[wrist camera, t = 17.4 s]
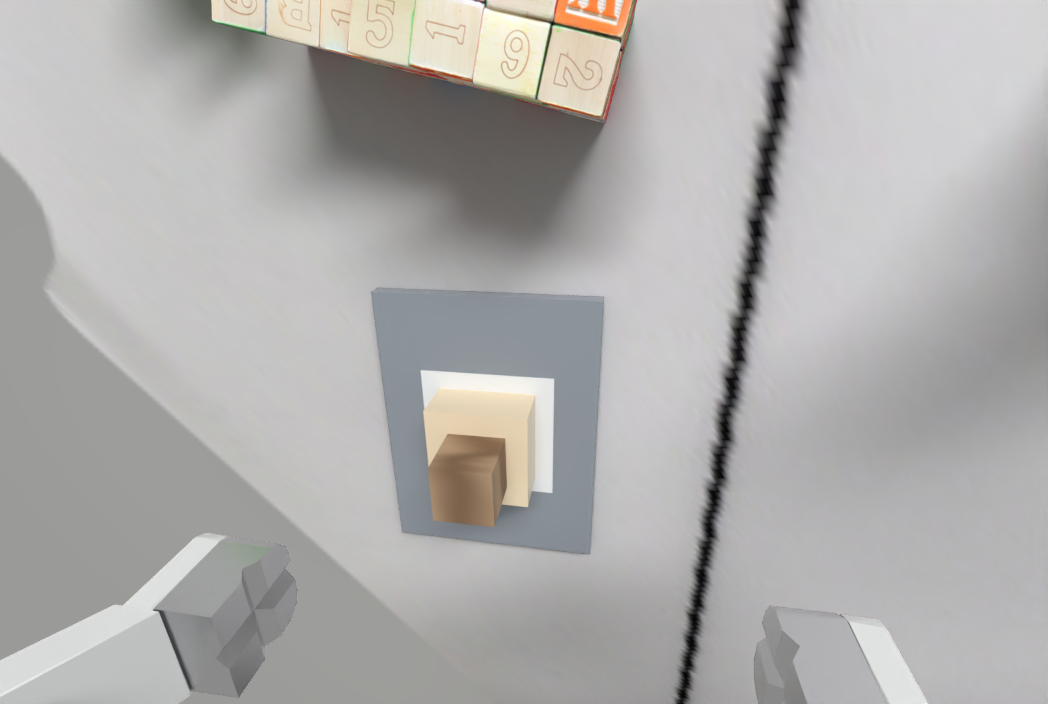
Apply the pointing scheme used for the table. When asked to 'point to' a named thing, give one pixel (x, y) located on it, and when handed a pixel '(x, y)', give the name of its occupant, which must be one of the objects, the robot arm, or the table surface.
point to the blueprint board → (495, 352)
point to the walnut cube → (468, 480)
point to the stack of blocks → (465, 41)
